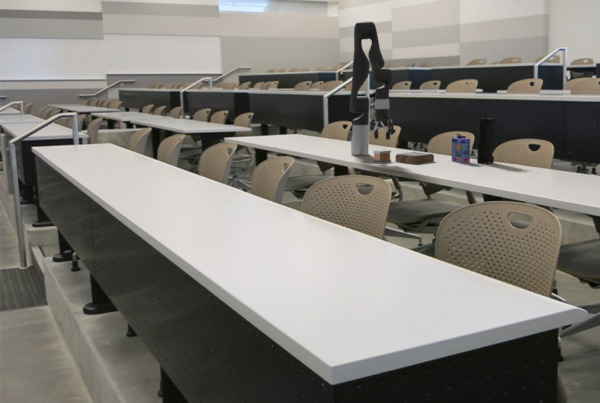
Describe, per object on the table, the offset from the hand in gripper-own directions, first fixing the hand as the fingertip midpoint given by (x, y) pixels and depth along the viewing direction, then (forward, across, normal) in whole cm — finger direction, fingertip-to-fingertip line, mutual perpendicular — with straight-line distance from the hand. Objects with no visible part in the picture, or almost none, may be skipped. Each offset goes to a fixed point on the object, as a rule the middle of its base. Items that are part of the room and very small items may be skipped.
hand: (382, 139), depth 336 cm
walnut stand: (+12, +12, +12) cm, 21 cm away
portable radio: (+12, +41, +33) cm, 54 cm away
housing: (+12, 0, 0) cm, 12 cm away
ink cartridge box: (+12, +29, +28) cm, 42 cm away
